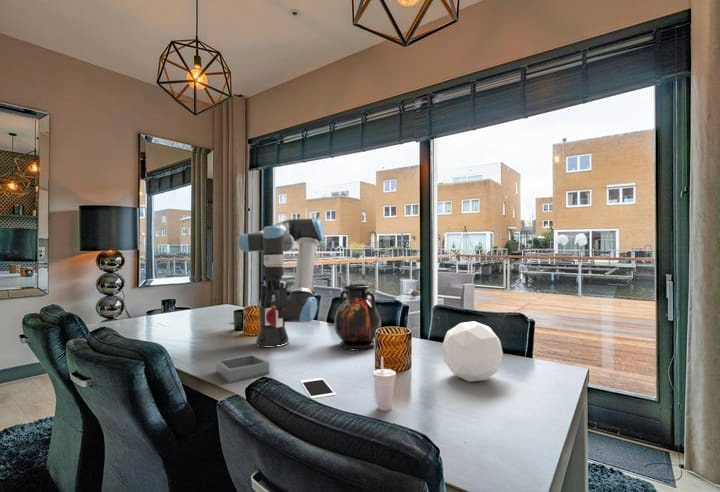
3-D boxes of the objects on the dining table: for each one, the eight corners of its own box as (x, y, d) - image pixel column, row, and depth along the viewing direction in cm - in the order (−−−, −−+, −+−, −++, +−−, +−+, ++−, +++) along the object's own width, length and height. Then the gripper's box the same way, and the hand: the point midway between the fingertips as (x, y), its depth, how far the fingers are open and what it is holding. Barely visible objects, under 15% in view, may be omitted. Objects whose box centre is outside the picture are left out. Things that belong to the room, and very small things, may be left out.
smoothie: (372, 403, 103) (371, 353, 103) (394, 402, 103) (393, 353, 104) (374, 413, 96) (374, 360, 97) (398, 412, 97) (397, 359, 97)
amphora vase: (324, 348, 164) (323, 286, 164) (352, 338, 181) (351, 282, 182) (363, 355, 151) (363, 288, 152) (389, 344, 169) (389, 284, 170)
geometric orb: (476, 405, 116) (464, 366, 107) (438, 367, 133) (424, 330, 123) (519, 371, 121) (512, 330, 111) (477, 338, 138) (467, 300, 128)
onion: (284, 325, 142) (284, 305, 142) (276, 328, 137) (276, 307, 137) (271, 324, 144) (271, 304, 144) (263, 327, 138) (263, 306, 139)
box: (253, 364, 141) (253, 354, 141) (268, 373, 130) (268, 362, 130) (216, 372, 132) (216, 361, 132) (229, 382, 121) (229, 370, 121)
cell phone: (322, 379, 124) (322, 377, 124) (336, 396, 109) (336, 394, 109) (299, 382, 122) (299, 380, 122) (310, 400, 107) (310, 398, 107)
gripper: (250, 266, 144) (251, 324, 143) (281, 266, 132) (282, 330, 131) (266, 265, 150) (266, 321, 149) (297, 265, 138) (297, 327, 137)
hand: (273, 325), depth 140 cm, fingers closed on onion, 6 cm apart
